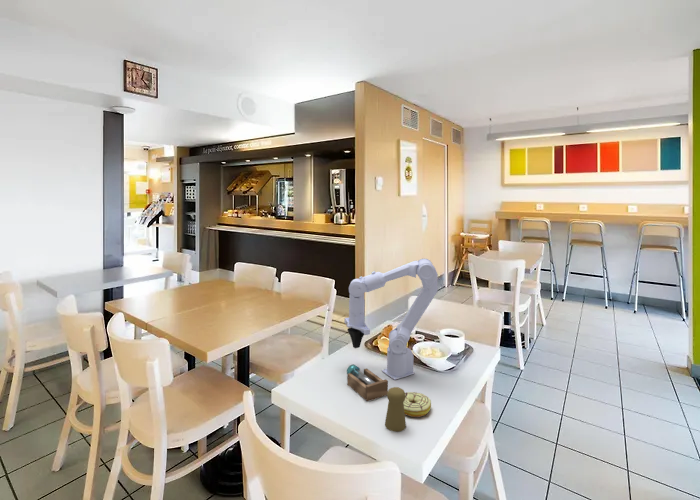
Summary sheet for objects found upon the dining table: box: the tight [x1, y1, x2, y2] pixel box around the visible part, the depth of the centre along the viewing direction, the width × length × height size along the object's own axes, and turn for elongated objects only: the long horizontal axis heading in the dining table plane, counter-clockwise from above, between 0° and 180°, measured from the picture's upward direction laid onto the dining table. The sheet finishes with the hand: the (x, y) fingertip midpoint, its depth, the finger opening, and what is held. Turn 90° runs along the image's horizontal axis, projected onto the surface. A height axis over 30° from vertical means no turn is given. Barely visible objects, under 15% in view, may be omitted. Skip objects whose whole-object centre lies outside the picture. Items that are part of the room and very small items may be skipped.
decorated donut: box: [403, 391, 432, 418], centre depth 117 cm, size 10×11×4 cm
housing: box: [346, 368, 389, 403], centre depth 128 cm, size 13×8×5 cm, turn 31°
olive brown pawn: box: [384, 386, 407, 433], centre depth 108 cm, size 6×6×11 cm
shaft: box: [346, 364, 375, 385], centre depth 130 cm, size 14×4×4 cm, turn 31°
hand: (356, 347), depth 140 cm, fingers closed
